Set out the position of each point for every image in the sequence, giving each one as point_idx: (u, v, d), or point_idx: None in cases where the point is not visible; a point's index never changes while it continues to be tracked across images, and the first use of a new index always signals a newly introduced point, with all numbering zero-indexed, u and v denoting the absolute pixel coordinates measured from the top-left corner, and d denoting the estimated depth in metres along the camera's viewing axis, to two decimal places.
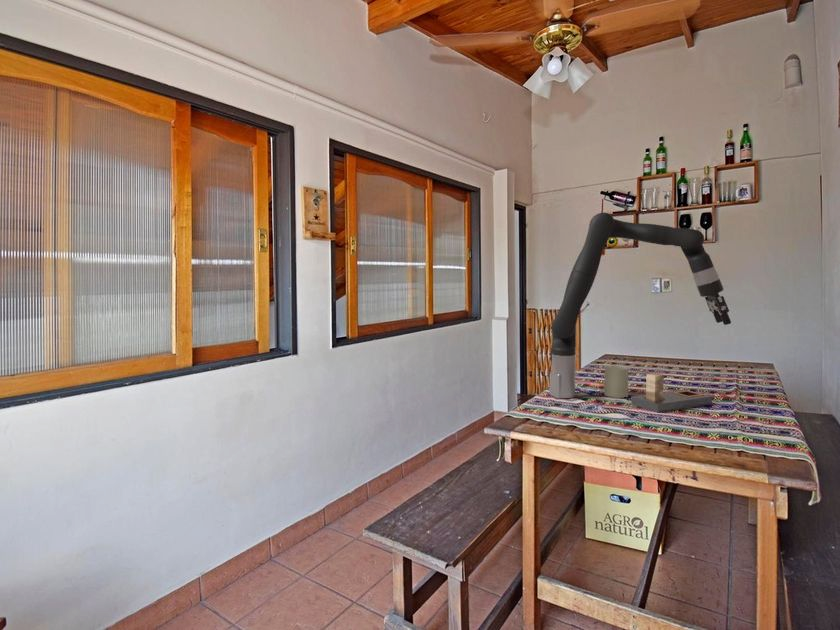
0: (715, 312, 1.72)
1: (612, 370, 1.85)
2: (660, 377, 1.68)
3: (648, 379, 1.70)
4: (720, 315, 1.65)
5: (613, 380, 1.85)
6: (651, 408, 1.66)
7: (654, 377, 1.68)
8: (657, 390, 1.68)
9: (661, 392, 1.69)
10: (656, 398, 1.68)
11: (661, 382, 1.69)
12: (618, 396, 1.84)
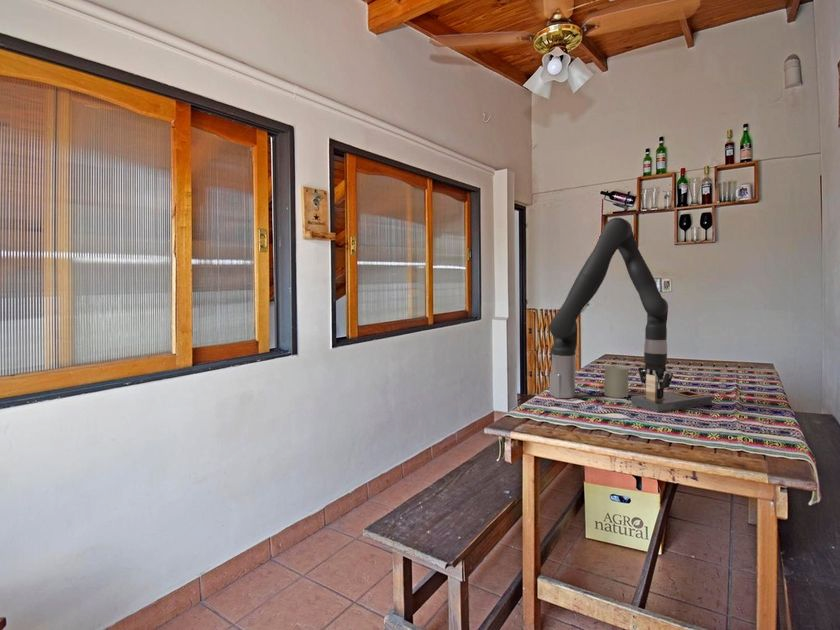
0: None
1: (612, 370, 1.85)
2: None
3: (648, 379, 1.70)
4: None
5: (613, 380, 1.85)
6: (651, 408, 1.66)
7: (654, 377, 1.68)
8: None
9: None
10: (656, 398, 1.68)
11: None
12: (618, 396, 1.84)
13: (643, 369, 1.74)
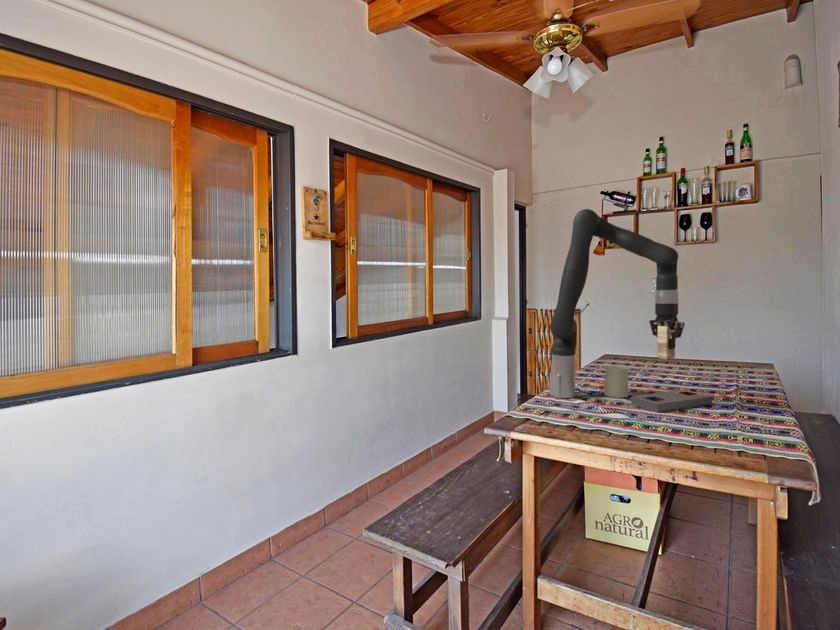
0: None
1: (612, 370, 1.85)
2: None
3: (660, 330, 1.70)
4: None
5: (613, 380, 1.85)
6: (651, 408, 1.66)
7: (665, 327, 1.68)
8: None
9: None
10: (667, 349, 1.68)
11: None
12: (618, 396, 1.84)
13: (654, 321, 1.74)
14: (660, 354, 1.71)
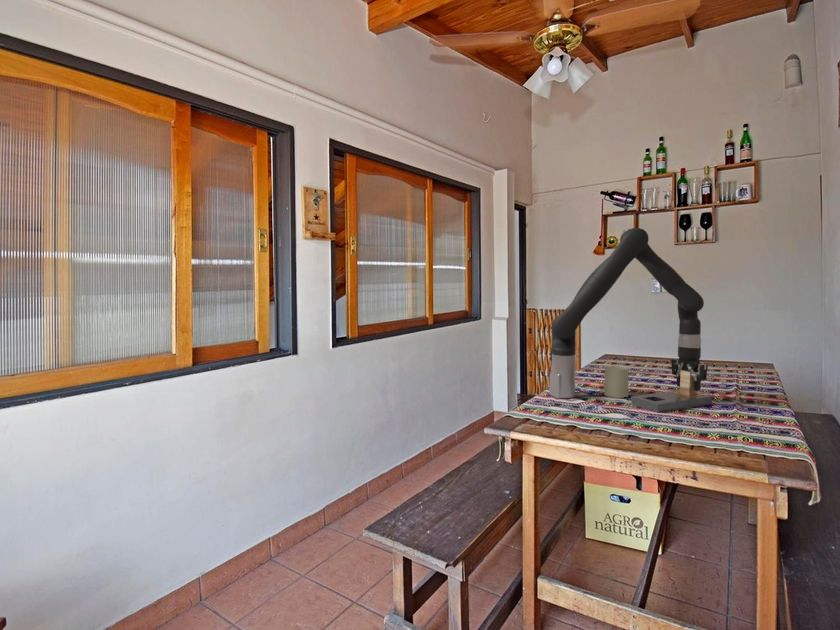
0: None
1: (612, 370, 1.85)
2: None
3: (682, 375, 1.76)
4: (694, 381, 1.73)
5: (613, 380, 1.85)
6: (651, 408, 1.66)
7: (689, 373, 1.74)
8: (691, 386, 1.74)
9: None
10: (690, 394, 1.74)
11: None
12: (618, 396, 1.84)
13: (676, 362, 1.80)
14: None
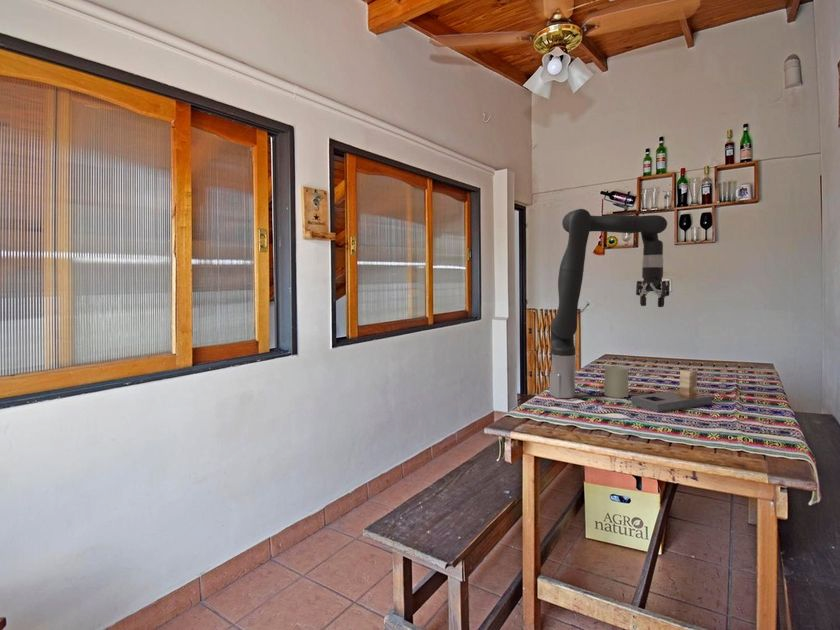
0: (643, 296, 1.90)
1: (612, 370, 1.85)
2: (694, 373, 1.74)
3: (682, 375, 1.76)
4: None
5: (613, 380, 1.85)
6: (651, 408, 1.66)
7: (688, 373, 1.74)
8: (691, 386, 1.74)
9: (695, 387, 1.75)
10: (690, 394, 1.74)
11: (695, 378, 1.75)
12: (618, 396, 1.84)
13: (641, 283, 1.91)
14: None
